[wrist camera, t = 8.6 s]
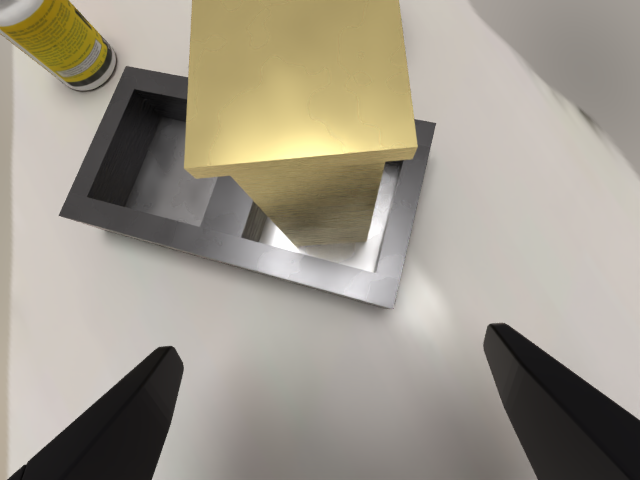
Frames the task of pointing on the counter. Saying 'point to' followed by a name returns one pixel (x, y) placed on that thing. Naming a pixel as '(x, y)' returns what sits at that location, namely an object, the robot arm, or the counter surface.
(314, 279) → the compartment tray
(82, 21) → the supplement bottle
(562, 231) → the counter surface
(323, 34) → the brass block
